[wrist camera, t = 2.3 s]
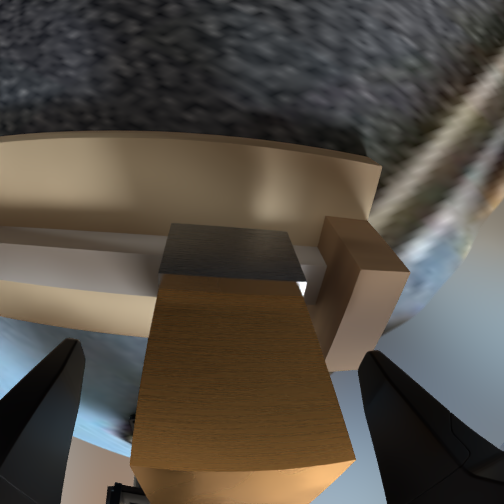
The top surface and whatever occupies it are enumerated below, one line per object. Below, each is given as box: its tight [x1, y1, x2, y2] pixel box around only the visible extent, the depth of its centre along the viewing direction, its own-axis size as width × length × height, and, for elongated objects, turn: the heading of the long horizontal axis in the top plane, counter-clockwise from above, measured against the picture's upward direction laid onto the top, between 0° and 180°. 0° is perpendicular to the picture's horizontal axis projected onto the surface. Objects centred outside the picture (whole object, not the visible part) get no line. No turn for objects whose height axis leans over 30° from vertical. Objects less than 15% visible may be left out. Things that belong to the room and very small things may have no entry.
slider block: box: [130, 223, 356, 504], centre depth 9 cm, size 5×4×8 cm
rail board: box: [0, 130, 410, 372], centre depth 12 cm, size 10×24×6 cm, turn 82°
